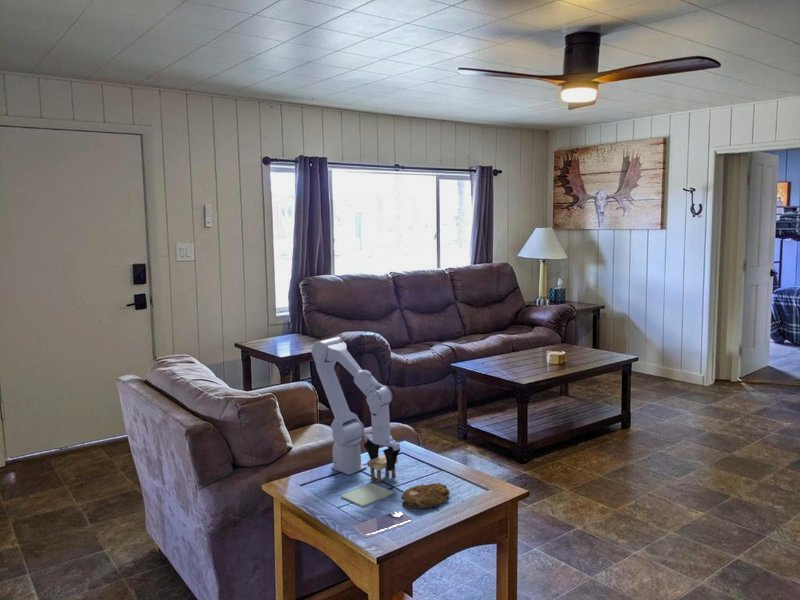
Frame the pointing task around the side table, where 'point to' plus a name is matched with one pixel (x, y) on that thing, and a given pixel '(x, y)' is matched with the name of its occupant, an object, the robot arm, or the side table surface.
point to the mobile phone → (382, 524)
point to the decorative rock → (425, 495)
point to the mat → (367, 494)
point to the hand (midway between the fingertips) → (382, 466)
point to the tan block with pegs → (379, 467)
